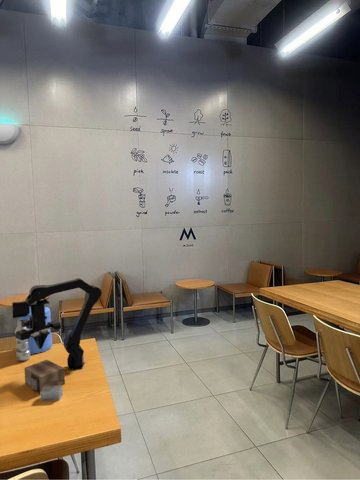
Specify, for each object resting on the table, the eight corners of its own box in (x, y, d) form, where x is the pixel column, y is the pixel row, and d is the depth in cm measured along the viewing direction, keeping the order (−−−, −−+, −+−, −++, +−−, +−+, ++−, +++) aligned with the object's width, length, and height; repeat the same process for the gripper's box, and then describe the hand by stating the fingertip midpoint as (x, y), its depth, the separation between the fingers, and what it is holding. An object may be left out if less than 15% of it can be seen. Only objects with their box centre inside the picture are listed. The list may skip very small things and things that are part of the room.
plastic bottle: (33, 357, 168) (31, 318, 167) (26, 362, 161) (23, 322, 160) (21, 356, 169) (19, 318, 167) (13, 362, 162) (11, 322, 161)
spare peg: (62, 395, 131) (62, 385, 131) (59, 400, 127) (58, 390, 127) (44, 396, 131) (43, 386, 130) (40, 401, 127) (40, 391, 126)
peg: (47, 380, 141) (46, 371, 141) (52, 383, 138) (51, 374, 138) (31, 387, 135) (30, 378, 135) (36, 390, 133) (35, 380, 133)
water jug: (41, 355, 170) (38, 301, 168) (14, 353, 173) (10, 301, 171) (58, 343, 185) (55, 294, 183) (33, 342, 188) (30, 294, 186)
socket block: (47, 374, 148) (46, 359, 148) (64, 383, 140) (64, 367, 139) (25, 383, 141) (24, 368, 140) (42, 394, 132) (41, 377, 131)
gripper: (48, 306, 159) (50, 338, 160) (8, 316, 144) (10, 351, 145) (61, 310, 152) (62, 343, 153) (20, 321, 137) (22, 357, 139)
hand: (40, 348), depth 148 cm, fingers closed
